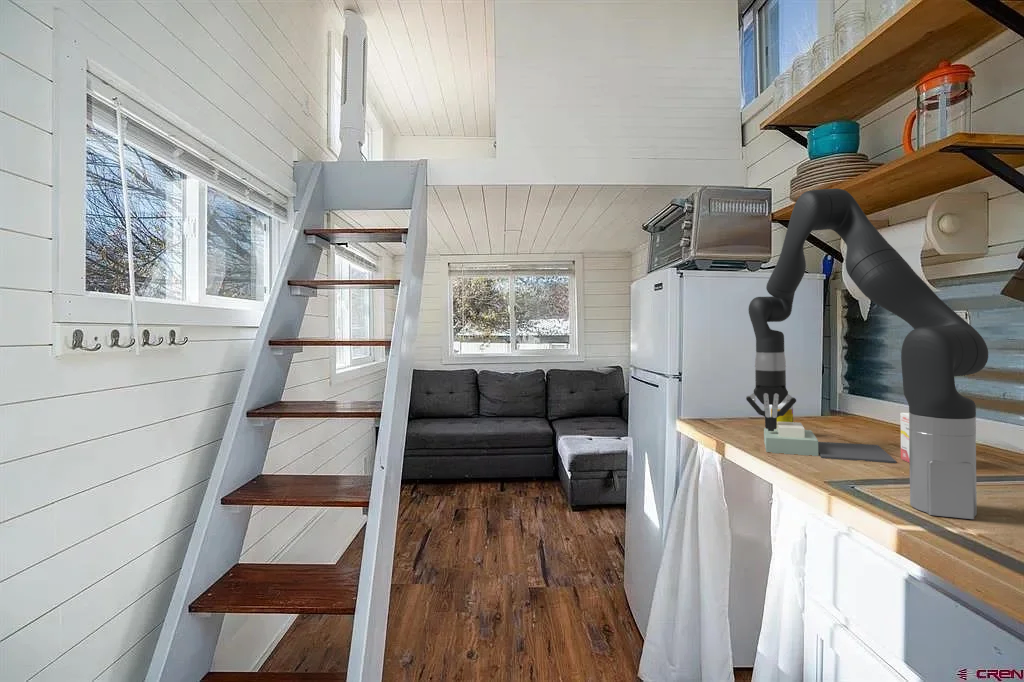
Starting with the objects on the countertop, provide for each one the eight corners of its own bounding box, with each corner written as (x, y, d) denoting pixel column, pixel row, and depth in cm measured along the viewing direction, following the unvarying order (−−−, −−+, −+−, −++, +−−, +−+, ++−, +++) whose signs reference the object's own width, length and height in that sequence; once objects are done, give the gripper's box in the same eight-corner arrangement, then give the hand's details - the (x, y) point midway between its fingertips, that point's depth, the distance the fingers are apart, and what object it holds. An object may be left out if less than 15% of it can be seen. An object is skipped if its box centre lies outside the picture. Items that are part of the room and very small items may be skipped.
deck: (818, 456, 131) (818, 440, 131) (766, 452, 136) (766, 437, 136) (811, 444, 144) (811, 430, 144) (764, 441, 149) (763, 428, 149)
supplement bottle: (797, 439, 151) (796, 395, 151) (773, 438, 152) (772, 396, 152) (788, 434, 158) (787, 393, 157) (765, 434, 159) (765, 393, 158)
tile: (804, 438, 134) (804, 428, 134) (779, 436, 137) (778, 427, 137) (800, 431, 143) (800, 422, 143) (776, 430, 145) (776, 421, 145)
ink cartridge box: (899, 459, 126) (898, 400, 126) (921, 459, 125) (921, 400, 125) (919, 468, 118) (918, 405, 118) (943, 469, 117) (943, 405, 117)
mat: (896, 463, 123) (896, 461, 123) (821, 458, 129) (821, 456, 129) (877, 446, 139) (877, 444, 139) (812, 443, 146) (812, 441, 145)
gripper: (744, 369, 140) (745, 431, 141) (799, 369, 135) (799, 434, 135) (743, 367, 147) (744, 426, 148) (795, 367, 142) (796, 429, 142)
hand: (771, 430), depth 141 cm, fingers closed
